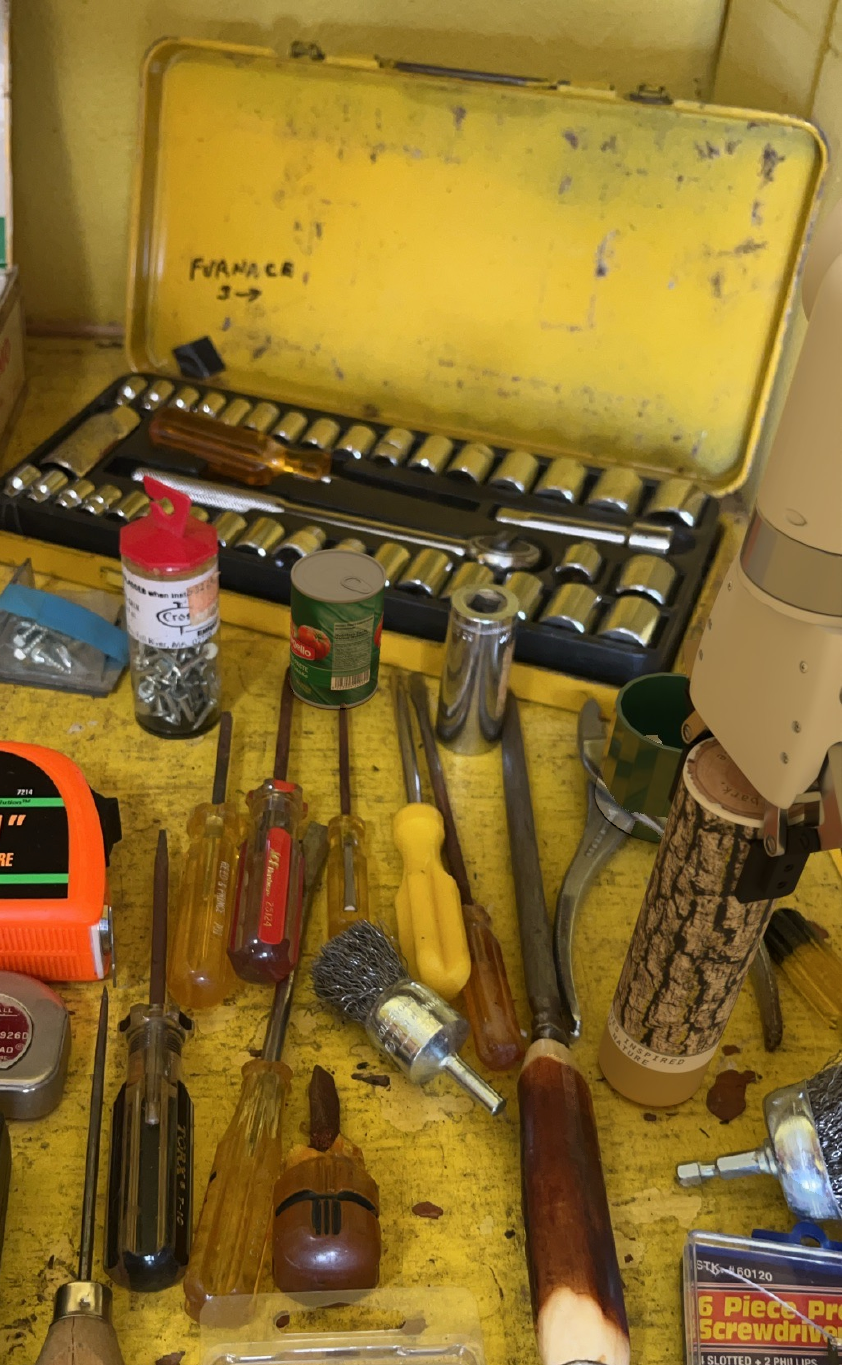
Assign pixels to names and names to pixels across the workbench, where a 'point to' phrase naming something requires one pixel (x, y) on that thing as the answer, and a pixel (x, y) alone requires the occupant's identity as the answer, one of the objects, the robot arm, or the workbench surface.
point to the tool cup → (645, 746)
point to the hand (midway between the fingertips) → (728, 844)
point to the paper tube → (689, 936)
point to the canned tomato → (336, 627)
